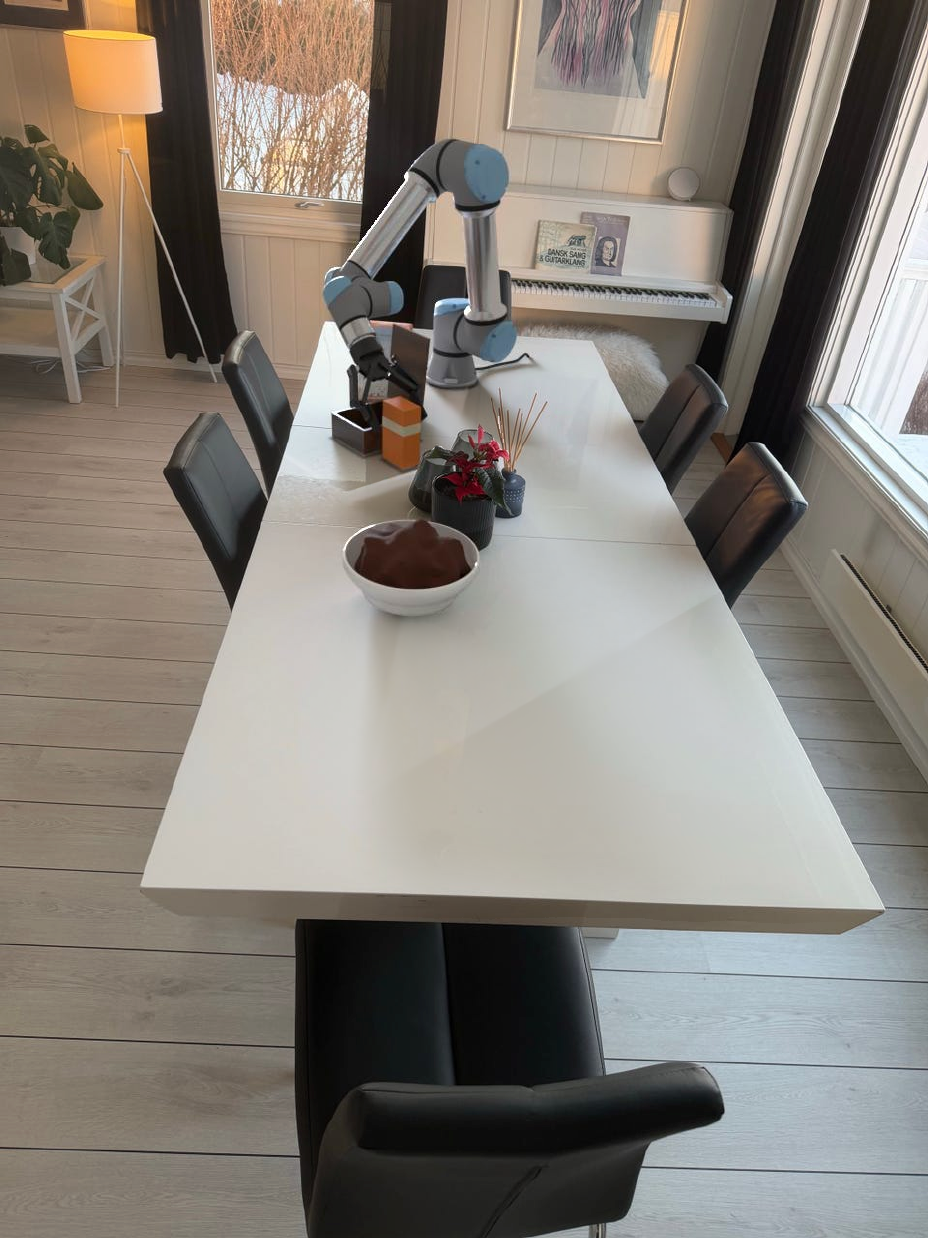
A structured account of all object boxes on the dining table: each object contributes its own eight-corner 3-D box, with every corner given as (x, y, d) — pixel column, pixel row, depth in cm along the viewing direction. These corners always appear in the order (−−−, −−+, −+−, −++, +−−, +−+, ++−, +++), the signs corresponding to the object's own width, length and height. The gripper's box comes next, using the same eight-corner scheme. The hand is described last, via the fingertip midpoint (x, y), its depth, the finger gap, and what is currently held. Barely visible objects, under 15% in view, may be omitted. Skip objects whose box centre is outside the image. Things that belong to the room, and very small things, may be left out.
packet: (398, 454, 208) (399, 395, 200) (419, 466, 204) (421, 406, 195) (381, 459, 205) (382, 400, 197) (402, 472, 201) (404, 411, 192)
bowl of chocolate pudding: (357, 555, 169) (356, 486, 161) (482, 568, 168) (488, 500, 160) (329, 628, 149) (326, 554, 140) (470, 643, 148) (476, 570, 139)
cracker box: (411, 398, 239) (413, 322, 226) (408, 406, 234) (410, 329, 222) (362, 393, 239) (362, 317, 227) (358, 401, 234) (357, 324, 222)
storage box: (364, 457, 206) (363, 431, 202) (331, 438, 214) (331, 412, 210) (420, 441, 216) (421, 415, 212) (387, 423, 224) (387, 398, 220)
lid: (427, 338, 201) (430, 338, 202) (392, 323, 209) (395, 323, 210) (420, 414, 211) (422, 413, 212) (386, 396, 219) (389, 396, 220)
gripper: (397, 342, 209) (434, 420, 209) (311, 360, 195) (351, 444, 195) (411, 326, 203) (449, 406, 203) (324, 344, 189) (365, 430, 189)
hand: (401, 425), depth 199 cm, fingers open, 13 cm apart
